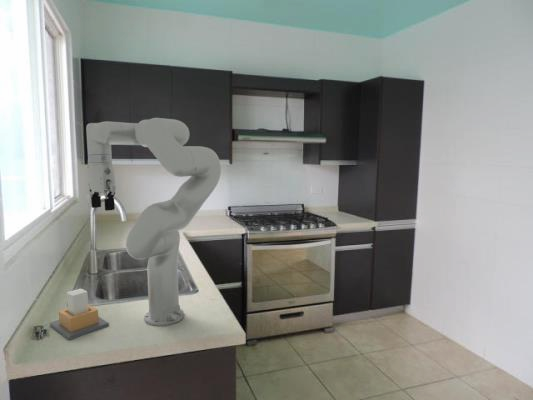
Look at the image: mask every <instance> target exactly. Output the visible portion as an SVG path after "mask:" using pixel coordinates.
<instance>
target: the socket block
mask: <svg viewBox="0 0 533 400" xmlns="http://www.w3.org/2000/svg"><path fill="white" fill-rule="evenodd" d="M88 308H89V311H88V312H85V313H82V314H79V315H76V316H71V315H70V314H68V308H65V309H62V310H59V311H58V320H53V321H51V322H49V326H50V327H51V328H53V330H55V331H56V332H57V333H59V334H60V335H62V336H63V337H64V338H65V339H67V340H68V341H70V340H73V339H76V338H78V337H81V336H84V335H87V334H90V333H92V332H93V333H94V332H95V331H98V330H101V329H103V328H106V327H109V326H110V325H109V321H107V320H105V319H103V318H102V317H100V316H99V309H97V308H95V307H94V306H92V305H90V304H89V303H88Z"/></svg>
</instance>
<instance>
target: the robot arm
mask: <svg viewBox="0 0 533 400" xmlns="http://www.w3.org/2000/svg"><path fill="white" fill-rule="evenodd" d="M85 130H86V132H85V133H86V145H87V146H86V147H87V148H86V149H87V159H88V160H87V162H88V163H87V164H88V165H89V173H88V174H89V179H88V180H89V183H88V187H89V192H90V202H91V203H90V204H91V208H94V209H96V208H101V207H102V201H101V200H102V198H101V194H103V195H104V210H105V211H107V212H108V211H114V210H115V206H116V205H115V197H116V196H115V194H116V190H117V186H116V179H115V171H114V166H113V159H112V158H113V156H112V155H113V154H112V152H113V151H112V146H113V145H116V146H118V145H119V146H121V145H122V146H141V147H144V148H148V149H149V151H150V152H151V153H152V154H153V156H154V157H155V158H156V159H157V160H158V162H159V163H160V165H161V166H162V167H163V168H164V169H165V171H167V172H168V173H169V174H171V175H172V176H174V177H179V178H180V177H189V178H188V179H186V180H185V181H184V183H182V184H181V186H179V188H178V190H177V191H176V193H175V194H174V195H173V196H172V198H170V199H168V200H164V201H159V202H155V203H152V204H150V205H148V206H146V208H145V209H144V210H143V211H142V213H141V214H140V216H139V217H138V218H137V220H136V222H135V223H134V225H133V226H132V227H131V229H130V231H129V233H128V234H127V237H126V241H125V248H126V251H127V253H128V255H129V256H130V257H131V258H133V259H135V260H146V259H148V260H147V267H146V269H147V295H148V312H146V313H145V315H144V322H145V323H146V324H148V325H151V326H155V327H162V326H163V327H164V326H169V325H173V324H176V323H178V322H180V321H181V320H183V318H184V316H185V311H184V310H183V309H182V308H181V306H180V301H179V300H180V299H179V296H180V295H179V274H178V273H179V272H178V271H179V268H178V267H179V266H178V265H179V263H178V259H179V257H178V256H179V250H180V249H179V248H180V243H181V235H180V231H181V230H183V229H185V228H187V226H188V225H190V223H191V222H192V220H193V219H194V217H195V216H196V214H198V212H199V211H200V209H201V208H202V206H203V205H204V203H205V202H206V201H207V200H208V198H209V197H210V196H211V194H212V193H213V192H214V190H215V189H216V187H217V185H218V184H219V181H220V178H221V174H222V173H221V172H222V169H221V168H222V165H221V160H220V158H219V156H218V154H217V153H216V152H215V150H213V149H212V148H210V147H205V146H201V145H198V146H197V145H196V146H195V145H194V146H193V145H190V146H189V145H188V146H187V145H186V144H187V142H188V141H189V139H190V129H189V127H188V126H187V125H186V123H185V122H183V121H181V120H178V119H174V118H164V117H162V118H161V117H153V118H150V119H142V120H140V121H139V122H138V123H137V122H123V121H121V122H120V121H110V120H109V121H108V120H106V121H101V122H90V123H88V124H86V129H85ZM185 145H186V146H185Z"/></svg>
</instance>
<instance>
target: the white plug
mask: <svg viewBox="0 0 533 400" xmlns="http://www.w3.org/2000/svg"><path fill="white" fill-rule="evenodd" d="M88 296H89V295H88V291H87V290H85V289H83V288H78V289H74V290H70V291H67V292H66V300H67V309H68V314H70V315H71V316H76V315H79V314H82V313H85V312H88V311H89V308H88V304H89V297H88Z"/></svg>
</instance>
